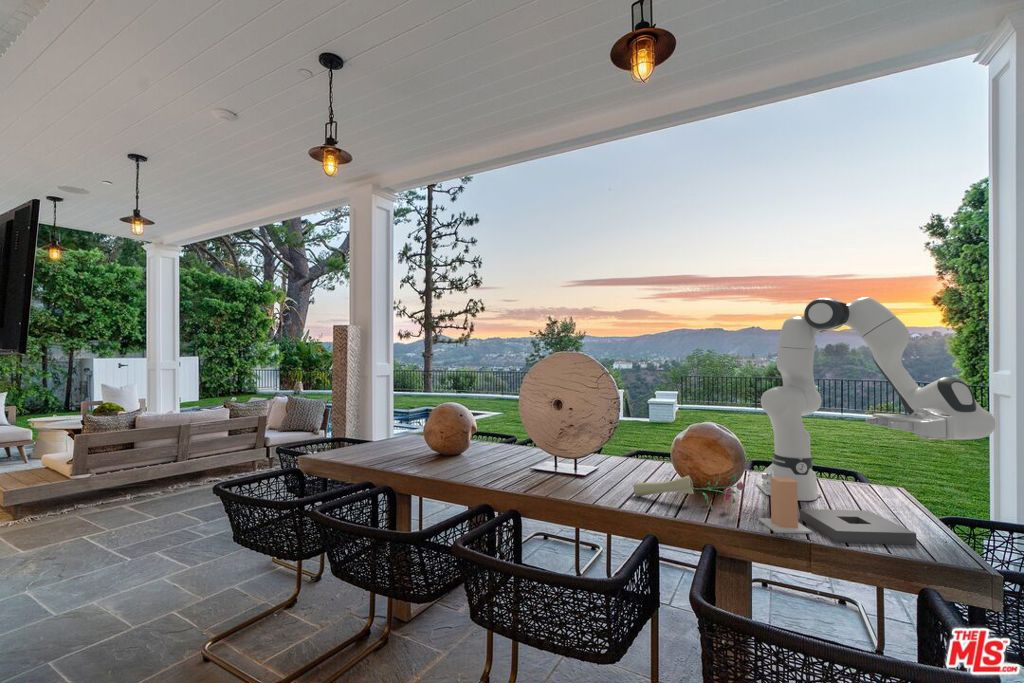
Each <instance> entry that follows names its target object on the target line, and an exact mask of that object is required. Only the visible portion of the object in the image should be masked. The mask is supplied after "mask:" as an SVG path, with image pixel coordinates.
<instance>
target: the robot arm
mask: <svg viewBox="0 0 1024 683" xmlns="http://www.w3.org/2000/svg"><path fill="white" fill-rule="evenodd" d="M803 314H804V315H802V316H793V317H789V318H786V320H785V321H784V322H783V325H782V327H781V330H780V333H779V339H778V348H777V349H778V350H777V358H776V360H777V361H776V369H777V370H778V372H779V374H780V375H781V379H782V384H783V386H774V387H771V388H769V389H768V390H766V391H764V392H763V393H762V395H761V396H760V405H761V408H762V410H763V411H764V413H766V414H767V416H768V418H769V421H770V423H771V426H772V431H773V439H774V440H773V441H774V444H773V445H774V452H773V453H772V456H771V457H772V459H771V460H772V461H771V464H770V465H769V466H767V467H766V468H765V469H763V472H762V473H761V476H760V477H761V479H762V480H761V481H756V484H757V485H756V486H757V487H758V488H759V489H760V490H761V491H762V492H763V493H764V495H766V496H771V477H788V478H790V479H792V480H794V481H796V482H797V501H801V502H802V501H808V502H809V501H815V500H818V498H820V497H822V493H821V492H819V490H818V489H819V488H818V483H817V482H818V481H817V473H816V472H815V471H814V470H813V462H814V461H813V457H812V456H811V435H810V432H808V430H806V427H805V425H804V421H803V419H802V417H803V416H808V415H812V414H814V413H816V411H818V410H819V409H820V408H821V407H822V395H821V394H820V392H819V391H818V390H817V387H816V381H815V376H814V358H815V346H816V339H817V338H816V337H817V336H818V335H819V333H823V332H828V331H833V330H834V331H835V330H838V329H840V328H841V327H843V326H845V327H846V326H847V327H849V328H850V329H852V330H854V332H856V334H857V335H858V336H860V338H862V340H863V341H864V342H865V344H866V345H867V346H868V348H869V349H870V352H871V354H872V355H871V356H872V359H873V360H872V361H873V362H874V364H875V365H876V367H877V368H878V370H879V372H881V374H882V375H883V377H884V378H885V379H886V381H887V382H888V384H889V386H891V388H892V389H893V391H895V393H896V395H897V396H898V398H899V399H900V401H901V404H902V406H903V407H904V409H905V411H906V412H907V414H908V415H905V414H900V413H873V414H872V417H866V418H865V424H867V425H873V426H878V427H883V428H888V429H891V430H897V431H902V432H908V433H912V434H914V435H916V437H918V438H920V439H923V440H951V441H952V440H959V441H961V440H978V439H984V438H986V437H988V436H990V435H991V434H992V433H993V432H994V430H995V428H996V419H995V417H994V415H993V414H992V413H991V412H989V411H988V410H986V409H984V408H983V407H982V406H981V405H980V404H979V403H978V401H977V400H976V399H975V396H974V393H973V390H972V388H971V387H970V386H969V385H968V384H967V383H966V382H965V381H963V380H961V379H958V378H957V377H952V376H944V377H941V378H939V379H937V380H934V381H932V382H930V383H928V384H927V385H924V386H923V387H921V386H919V385H918V383H917V382H916V381H915V380H914V378H913V377H912V376H911V375H910V373H909V372H908V371H907V369H906V367H905V366H904V364H903V362H902V359H903V354H904V351H905V349H906V348H907V346H908V344H909V340H910V331H909V329H908V328H907V326H906V325H905V324H904V322H903V321H901V319H899V317H897V316H896V315H895V314H894V313H893V312H892V311H891V310H889V308H887V307H886V306H884V305H883V304H882V303H880V302H879V301H877V300H876V299H874V298H872V297H871V296H863V297H859V298H856V299H854V300H853V301H851V302H849V303H846V302H844V301H841V300H838V299H836V298H831V297H819V298H816V299H814V300H812V301H810V302H809V303H808V304H807V305H806V307H805V309H804V311H803Z"/></svg>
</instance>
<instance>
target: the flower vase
mask: <svg viewBox="0 0 1024 683" xmlns="http://www.w3.org/2000/svg"><path fill="white" fill-rule="evenodd" d="M737 477H738V473H736V474H734V475H733V476H732V478H731V480H730V485H729V486H721V487H719V486H718V487H717V485H718V482H719V481H721V480H722V479H721V474H719V477H718V478H719V479H718V480H717V481H716V478H715V475H714V474H713V483H712V484H715V485H714V488H716V489H713V488H712V486H711V480H708V482H707V483H706V484H704V485H703V487H702V488H699V487H694V484H693V481H692V478H691V477H690V475H687V476H683V477H680V478H678V479H675V480H669V481H657V482H656V481H655V482H652V481H651V482H650V481H649V482H634V483H633V491H634V495H635V497H637V498H638V497H643V496H650V495H657V494H663V493H684V494H690V495H694V490H700V491H699V493H702V495H703V496H704V499H705V500H706V502H707V505H706V506H708V505H709V504H710V510H711V511H713V505H712V504H711V503H710V501H709V496H708V495H707V493H705V492H702V490H703V491H710V492H711V491H712V492H717V493H718V492H719V493H722V494H723V495H722V497H723V498H724V500H725V502H728V501H730V500H731V499H732V504H735V503H736V499H735V497H734V496H733V495H732V494H735V495H736V494H737V492H736V491H734V490H733V489H732V488H736V489H737V490H739V491H740V492H742V490H744V489H745V487H744V484H743V482H742V481H741V480H739V482H738V483H736V485H732V483H733V482H735V481H737ZM715 481H716V482H715ZM714 482H715V483H714ZM706 485H709V486H707V487H705V486H706ZM731 485H732V486H731ZM718 489H724V490H722V491H721V490H718Z"/></svg>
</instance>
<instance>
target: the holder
mask: <svg viewBox="0 0 1024 683" xmlns="http://www.w3.org/2000/svg"><path fill="white" fill-rule="evenodd" d="M799 520H801V521H802V522H804V523H806V524H807V525H809V526H811V527H812V528H814V529H815V530H817V531H818V532H820V533H821V534H823V535H824V536H826V537H828V538H830V539H831V540H833V541H834V542H836V543H843V544H844V543H846V544H847V543H849V544H850V543H851V544H881V545H885V544H886V545H911V544H914V545H917V532H915V531H913V530H911V529H909V528H906V527H905V526H902V525H900V524H898V523H896V522H893V521H891V520H889V519H887V518H885V517H883V516H881V515H879V514H876V513H875V512H872V511H870V510H859V509H858V510H856V509H855V510H854V509H817V508H816V509H812V508H800V509H799Z"/></svg>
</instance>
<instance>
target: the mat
mask: <svg viewBox="0 0 1024 683" xmlns="http://www.w3.org/2000/svg"><path fill="white" fill-rule="evenodd" d="M758 521H759V522H760V523H762V524H763V525H764V526H766V527H767V528H768V529H770V530H771V531H773V532H774V533H777V534H778V533H780V534H783V533H784V534H813V531H812V529H810V528H808V527H806V526H805V525H804V524H802V523H800V522H799V521H798V528H788V527H779V526H777V525H776V524H775V523H773V522H772V521H771V517H770V518H767V517H765V518H764V517H758Z"/></svg>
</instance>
